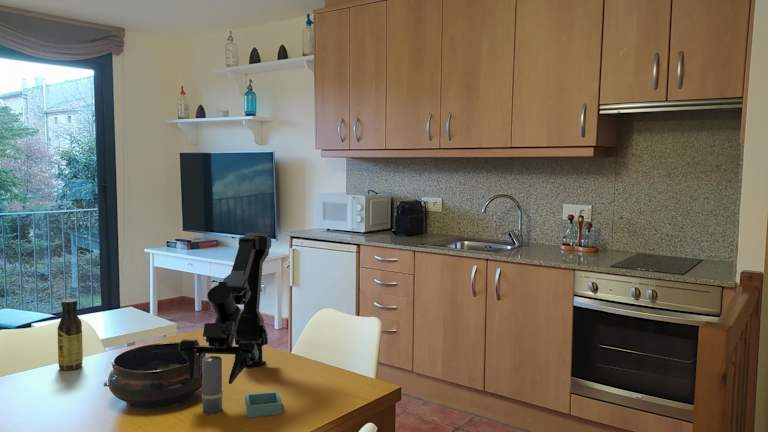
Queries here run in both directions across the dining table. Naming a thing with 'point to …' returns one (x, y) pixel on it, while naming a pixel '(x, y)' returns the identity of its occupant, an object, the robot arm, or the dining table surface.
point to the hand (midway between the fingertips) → (210, 382)
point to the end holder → (263, 404)
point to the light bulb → (212, 384)
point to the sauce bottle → (70, 337)
